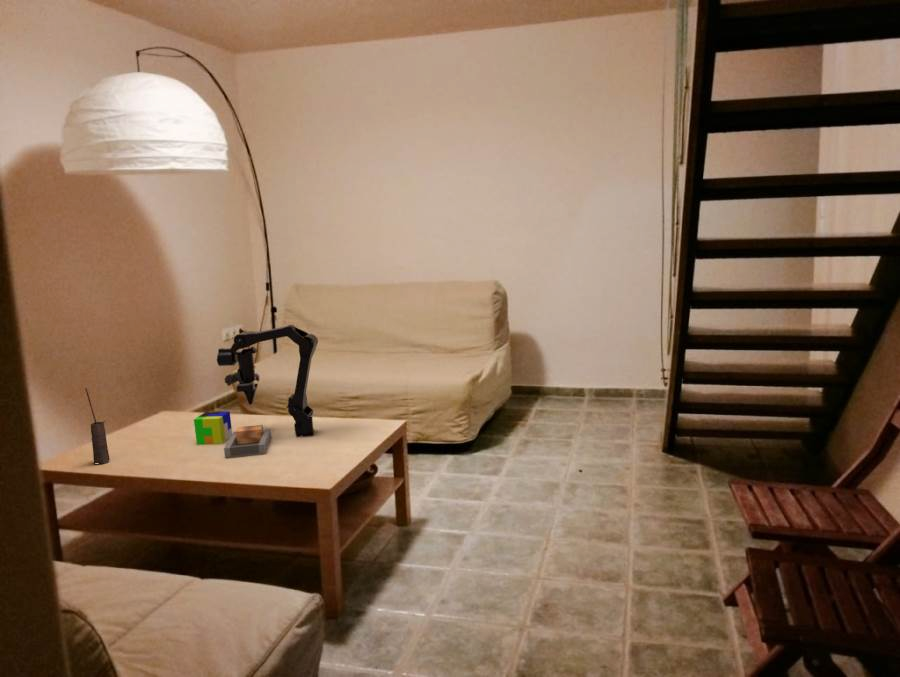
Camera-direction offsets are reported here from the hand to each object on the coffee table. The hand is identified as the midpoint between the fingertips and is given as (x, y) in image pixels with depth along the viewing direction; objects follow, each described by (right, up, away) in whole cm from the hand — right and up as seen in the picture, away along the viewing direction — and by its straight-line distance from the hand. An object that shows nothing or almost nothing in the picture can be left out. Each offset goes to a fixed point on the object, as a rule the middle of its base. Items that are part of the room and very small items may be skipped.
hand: (250, 403), depth 269 cm
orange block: (+2, -14, -7) cm, 16 cm away
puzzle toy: (-14, -14, 0) cm, 20 cm away
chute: (+3, -15, -11) cm, 19 cm away
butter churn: (-48, -20, -18) cm, 55 cm away
